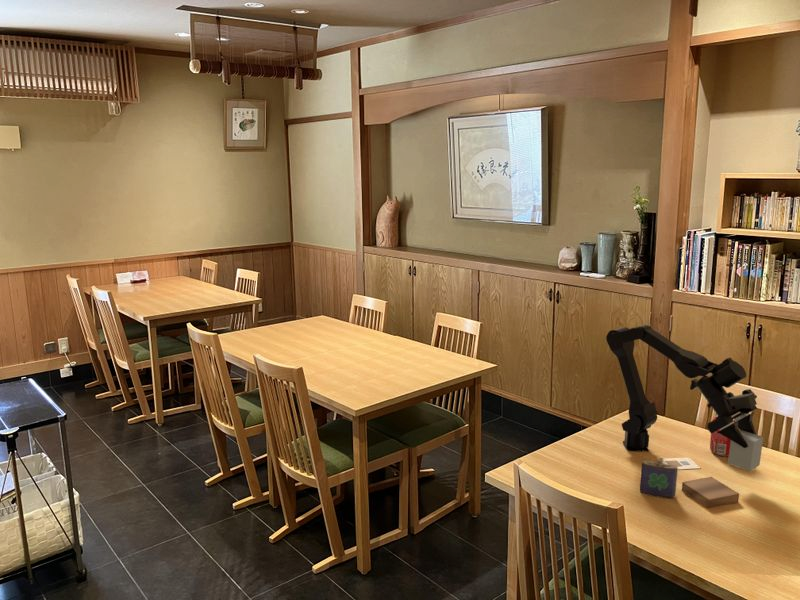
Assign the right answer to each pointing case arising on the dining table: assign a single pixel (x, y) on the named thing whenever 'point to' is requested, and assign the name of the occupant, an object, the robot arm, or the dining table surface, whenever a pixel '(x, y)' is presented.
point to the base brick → (710, 492)
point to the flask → (658, 479)
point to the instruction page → (681, 463)
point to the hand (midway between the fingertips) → (751, 444)
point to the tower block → (746, 452)
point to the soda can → (720, 443)
